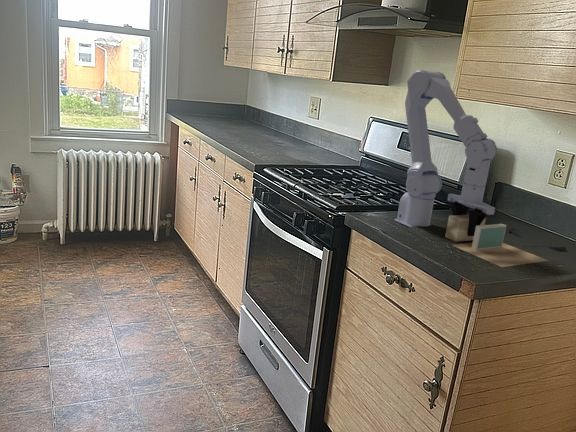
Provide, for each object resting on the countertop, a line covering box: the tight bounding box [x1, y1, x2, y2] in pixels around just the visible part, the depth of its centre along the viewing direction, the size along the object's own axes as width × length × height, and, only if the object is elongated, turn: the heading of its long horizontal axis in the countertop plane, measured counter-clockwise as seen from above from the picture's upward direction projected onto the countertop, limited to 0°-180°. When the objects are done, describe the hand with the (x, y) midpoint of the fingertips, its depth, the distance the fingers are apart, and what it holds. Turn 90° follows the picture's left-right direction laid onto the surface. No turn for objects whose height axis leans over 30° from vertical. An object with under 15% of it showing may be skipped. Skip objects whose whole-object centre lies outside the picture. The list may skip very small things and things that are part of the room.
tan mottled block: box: [445, 214, 487, 243], centre depth 149 cm, size 4×10×7 cm, turn 121°
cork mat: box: [451, 242, 549, 268], centre depth 140 cm, size 16×18×1 cm
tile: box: [471, 223, 507, 250], centre depth 142 cm, size 2×10×6 cm, turn 121°
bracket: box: [507, 228, 567, 252], centre depth 156 cm, size 14×15×3 cm
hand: (464, 233), depth 149 cm, fingers closed on tan mottled block, 4 cm apart
